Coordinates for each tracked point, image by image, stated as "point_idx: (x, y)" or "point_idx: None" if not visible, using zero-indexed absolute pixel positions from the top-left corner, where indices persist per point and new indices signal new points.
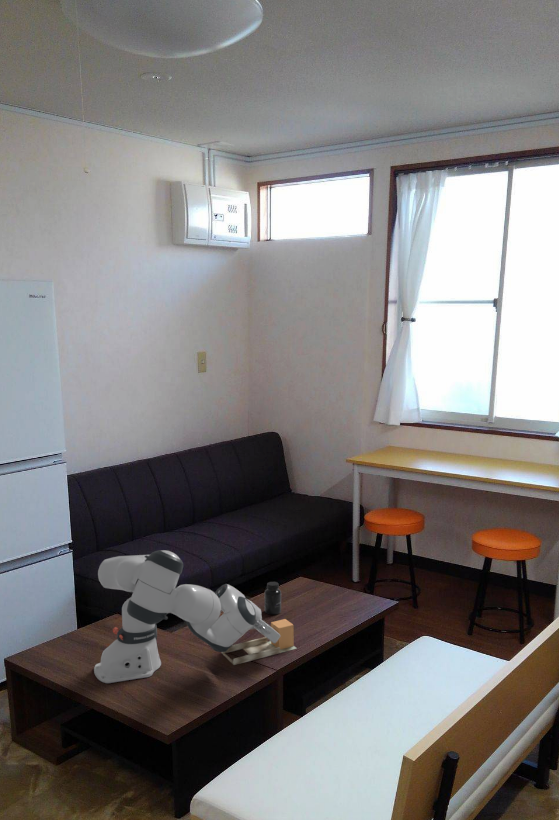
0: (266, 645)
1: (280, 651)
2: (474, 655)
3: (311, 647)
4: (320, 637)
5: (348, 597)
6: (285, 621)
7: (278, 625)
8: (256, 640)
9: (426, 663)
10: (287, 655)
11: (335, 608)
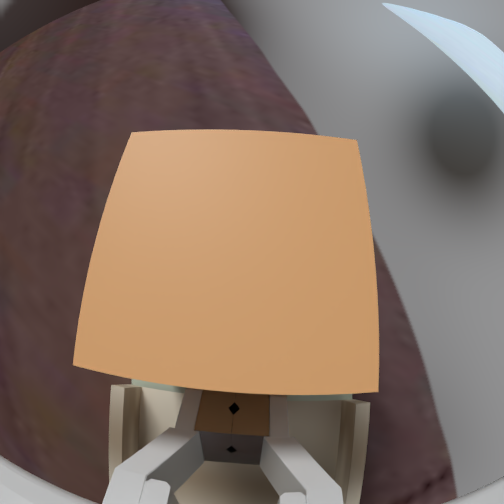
0: None
1: None
2: (456, 23)
3: None
4: (244, 93)
5: (102, 6)
6: (195, 160)
7: (262, 337)
8: None
9: (485, 64)
10: None
11: (112, 23)
